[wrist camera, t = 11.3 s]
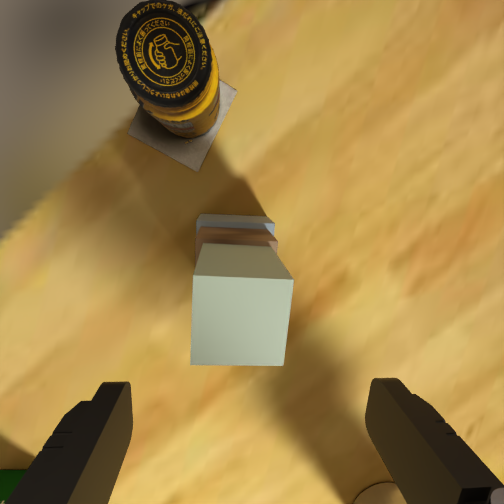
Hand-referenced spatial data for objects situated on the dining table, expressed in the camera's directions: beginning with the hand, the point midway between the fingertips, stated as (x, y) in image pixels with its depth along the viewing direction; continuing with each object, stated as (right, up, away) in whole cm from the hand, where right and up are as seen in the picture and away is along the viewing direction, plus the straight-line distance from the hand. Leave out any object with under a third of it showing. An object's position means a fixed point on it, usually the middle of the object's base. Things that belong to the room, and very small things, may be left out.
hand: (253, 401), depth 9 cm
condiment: (-7, +18, +18) cm, 26 cm away
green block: (-1, +3, +12) cm, 12 cm away
